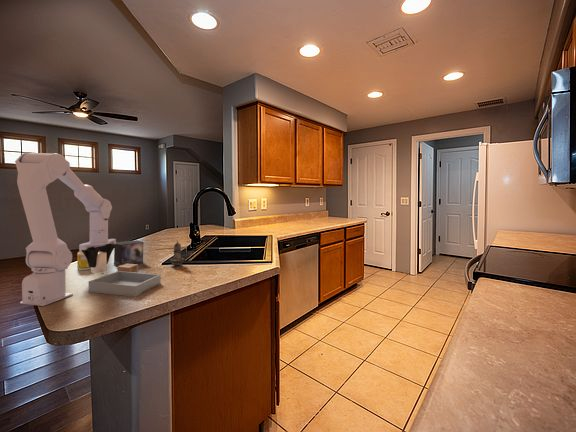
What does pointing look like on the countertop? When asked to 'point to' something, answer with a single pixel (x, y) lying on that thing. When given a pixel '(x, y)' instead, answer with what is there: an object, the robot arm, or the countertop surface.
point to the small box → (128, 252)
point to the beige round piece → (100, 263)
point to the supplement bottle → (82, 261)
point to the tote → (125, 283)
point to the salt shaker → (177, 256)
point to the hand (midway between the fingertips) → (98, 265)
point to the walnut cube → (128, 268)
